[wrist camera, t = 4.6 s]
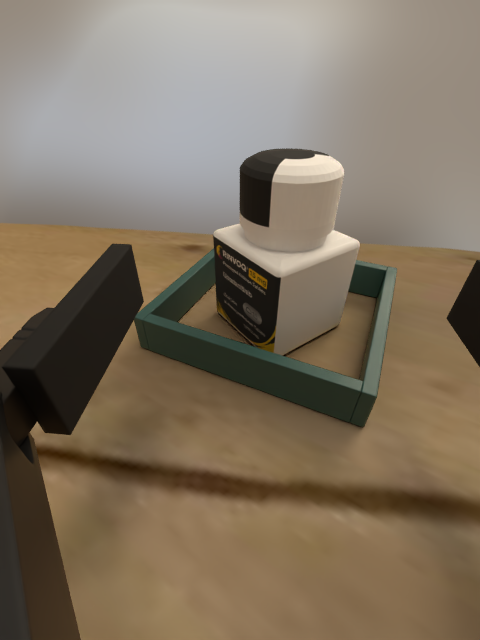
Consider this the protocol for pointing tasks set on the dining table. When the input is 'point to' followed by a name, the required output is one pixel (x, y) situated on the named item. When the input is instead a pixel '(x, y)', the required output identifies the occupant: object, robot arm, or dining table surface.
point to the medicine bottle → (285, 251)
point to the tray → (263, 366)
